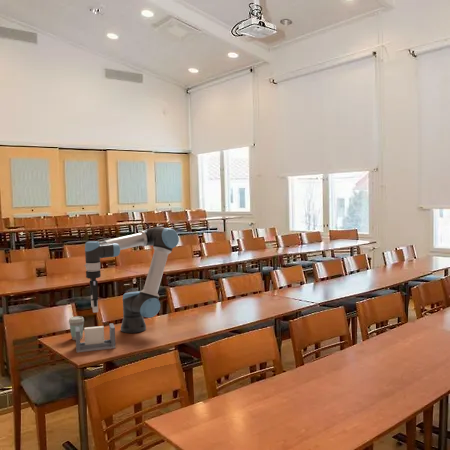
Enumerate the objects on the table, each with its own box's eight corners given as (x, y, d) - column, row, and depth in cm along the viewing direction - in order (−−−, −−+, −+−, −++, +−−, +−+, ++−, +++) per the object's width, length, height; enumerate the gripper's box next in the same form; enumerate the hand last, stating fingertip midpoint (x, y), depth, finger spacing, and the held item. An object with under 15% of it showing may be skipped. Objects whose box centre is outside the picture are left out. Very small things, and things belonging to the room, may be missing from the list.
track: (113, 342, 268) (113, 323, 267) (115, 348, 259) (114, 327, 258) (76, 346, 262) (75, 326, 261) (76, 352, 252) (75, 331, 252)
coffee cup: (80, 341, 272) (79, 320, 271) (66, 340, 274) (65, 319, 273) (87, 336, 281) (86, 316, 280) (74, 335, 282) (73, 315, 281)
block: (103, 343, 263) (103, 325, 262) (104, 345, 260) (103, 327, 259) (84, 345, 260) (84, 327, 259) (85, 347, 257) (84, 329, 256)
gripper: (84, 267, 268) (86, 305, 270) (87, 274, 245) (88, 315, 246) (98, 266, 271) (100, 303, 272) (102, 273, 247) (103, 314, 249)
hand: (94, 309), depth 259 cm, fingers open, 13 cm apart
